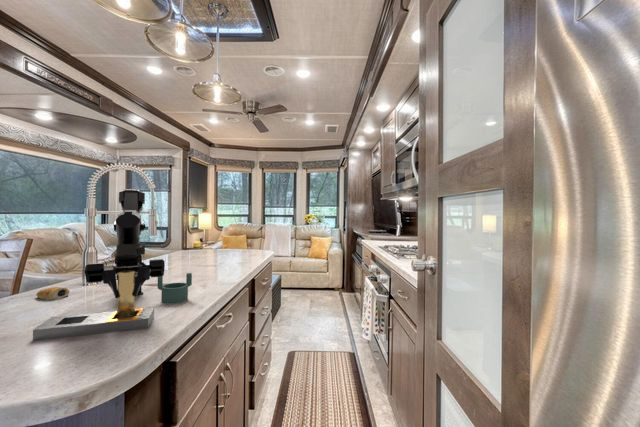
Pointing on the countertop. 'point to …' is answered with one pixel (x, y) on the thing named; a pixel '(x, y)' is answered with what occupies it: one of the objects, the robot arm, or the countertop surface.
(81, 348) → the countertop surface
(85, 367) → the countertop surface
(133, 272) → the brass peg
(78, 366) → the countertop surface
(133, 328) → the hole rail
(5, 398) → the countertop surface
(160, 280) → the bracket
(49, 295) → the pastry
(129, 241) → the robot arm
